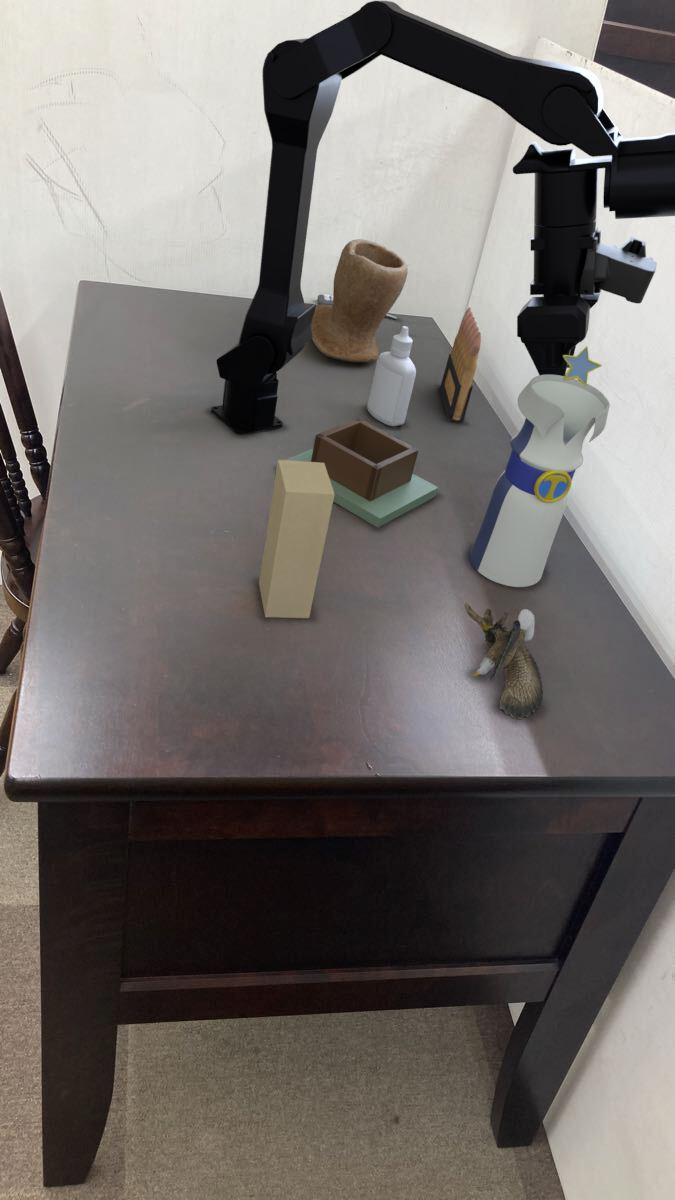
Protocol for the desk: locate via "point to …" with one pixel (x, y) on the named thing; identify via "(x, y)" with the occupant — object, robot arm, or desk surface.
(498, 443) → the desk surface
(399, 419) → the eye dropper bottle
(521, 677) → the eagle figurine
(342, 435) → the seat base
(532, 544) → the white superhero chess piece
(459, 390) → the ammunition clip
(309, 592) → the tan rectangular block
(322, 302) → the key chain
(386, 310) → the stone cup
